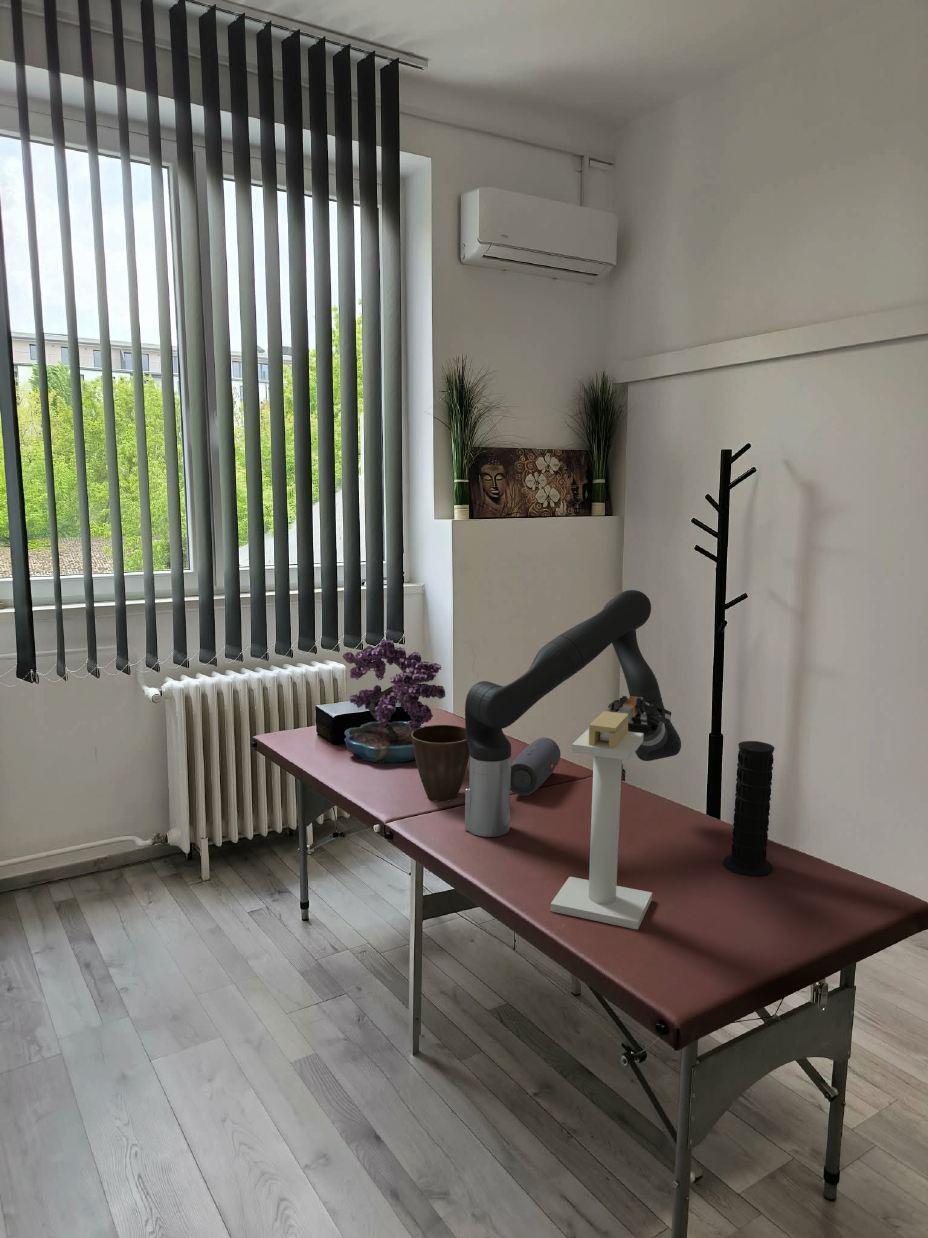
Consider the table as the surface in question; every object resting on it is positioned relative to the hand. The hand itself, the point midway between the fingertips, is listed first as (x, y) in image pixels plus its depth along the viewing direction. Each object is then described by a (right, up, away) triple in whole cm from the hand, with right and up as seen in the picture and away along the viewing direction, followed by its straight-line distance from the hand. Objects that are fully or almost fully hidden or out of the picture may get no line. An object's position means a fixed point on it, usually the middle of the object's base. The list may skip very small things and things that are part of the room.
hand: (630, 701), depth 175 cm
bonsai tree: (-52, -22, +75) cm, 94 cm away
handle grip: (+25, -34, +8) cm, 43 cm away
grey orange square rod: (-3, -4, -6) cm, 7 cm away
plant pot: (-38, -28, +44) cm, 65 cm away
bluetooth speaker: (-15, -26, +53) cm, 61 cm away
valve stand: (-7, -37, -10) cm, 39 cm away
